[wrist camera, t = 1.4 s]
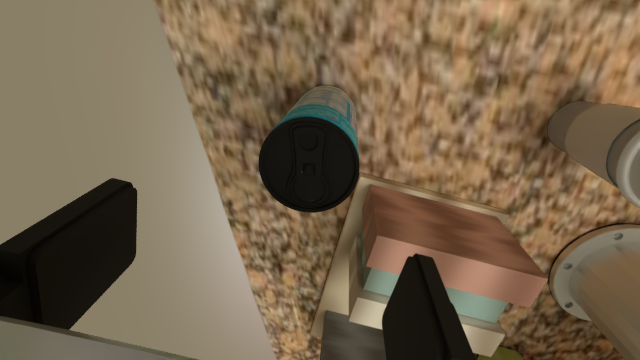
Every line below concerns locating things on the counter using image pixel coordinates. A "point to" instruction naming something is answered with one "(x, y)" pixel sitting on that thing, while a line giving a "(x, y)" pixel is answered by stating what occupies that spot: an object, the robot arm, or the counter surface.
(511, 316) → the counter surface
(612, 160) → the cup
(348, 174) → the beverage can
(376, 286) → the book rack
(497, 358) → the plant pot
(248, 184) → the counter surface
